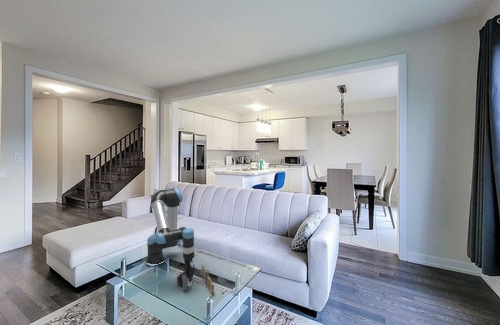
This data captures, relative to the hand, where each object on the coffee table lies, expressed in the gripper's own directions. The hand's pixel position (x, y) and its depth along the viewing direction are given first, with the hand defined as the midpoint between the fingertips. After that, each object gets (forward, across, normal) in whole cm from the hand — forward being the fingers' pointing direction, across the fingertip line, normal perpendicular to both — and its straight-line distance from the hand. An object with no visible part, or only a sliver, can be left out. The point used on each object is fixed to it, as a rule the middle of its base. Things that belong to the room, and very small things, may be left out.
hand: (189, 285), depth 155 cm
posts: (+2, -2, -4) cm, 5 cm away
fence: (+2, -11, -10) cm, 15 cm away
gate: (+2, +4, -13) cm, 14 cm away
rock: (+3, +8, 0) cm, 8 cm away
